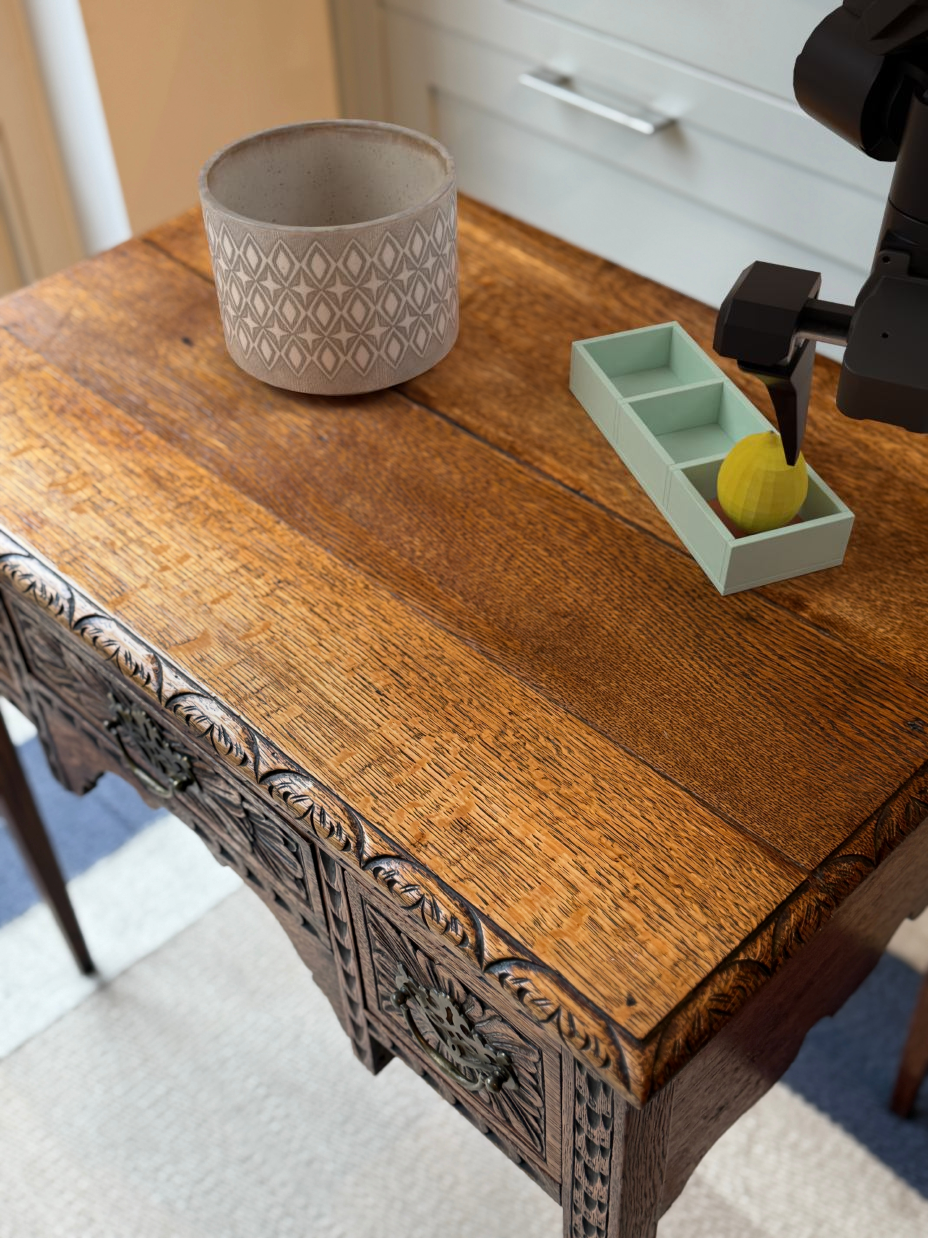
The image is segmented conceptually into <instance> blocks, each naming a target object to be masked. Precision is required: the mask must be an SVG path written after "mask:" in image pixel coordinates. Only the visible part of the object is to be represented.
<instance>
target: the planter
mask: <svg viewBox="0 0 928 1238" xmlns="http://www.w3.org/2000/svg"><path fill="white" fill-rule="evenodd" d="M457 184H458V183H457V164H456V160H455V159H454V157H453V155H452V154H451V152H450V151H449V150H448V149H447V148H446V146H444V145H443V144H442V143H441V142H439V141H438V140H436V139H435V138H433V137H431V136H430V135H427V134H426V133H424V132H420V131H418V130H415V129H413V128H410V127H407V126H402V125H400V124H399V125H398V124H395V123H389V122H384V121H378V120H368V119H359V118H358V119H356V118H326V119H325V118H323V119H322V118H321V119H312V120H303V121H302V120H301V121H295V122H290V123H285V124H281V125H276V126H271V127H267V128H265V129H261V130H258V131H256V132H255V131H254V132H251V133H249V134H247V135H244V136H241V137H239V138H237V139H235V140H233V141H232V142H229V143H228V144H225V145H224V146H223V147H222V148H220V149H218V150H217V151H215V153H213V154H212V155H211V156H210V157H209V158H208V159H207V160H206V161H205V162H204V164H203V166H202V167H201V169H200V170H199V175H198V177H197V186H198V187H197V189H198V194H199V200H200V205H201V211H202V217H203V222H204V228H205V233H206V239H207V245H208V251H209V256H210V263H211V268H212V273H213V279H214V284H215V290H216V296H217V301H218V305H219V306H218V307H219V312H220V317H221V325H222V329H223V335H224V340H225V346H226V348H227V351H228V354H229V355H230V357H231V359H233V361H234V362H235V363H236V365H237V366H238V367H239V368H241V369H242V370H243V371H244V372H245V373H246V374H248V375H250V376H251V377H253V378H255V379H257V380H258V381H261V382H263V383H266V384H267V385H270V386H273V387H277V388H280V389H283V390H287V391H292V392H298V393H303V394H309V395H314V396H315V395H316V396H326V397H327V396H328V397H329V396H330V397H343V396H344V397H346V396H347V397H349V396H356V395H363V394H369V393H373V392H378V391H381V390H385V389H387V388H391V387H393V386H396V385H399V384H402V383H405V382H407V381H410V380H411V379H413V378H416V377H419V376H421V375H422V374H424V373H425V372H427V371H429V370H430V369H432V368H433V367H435V366H436V365H437V364H438V363H440V362H441V361H442V360H444V358H445V357H446V356H447V355H448V354H449V352H451V350H452V348H453V347H454V345H455V343H456V342H457V340H458V335H459V331H460V305H459V303H460V302H459V299H460V297H459V296H460V295H459V247H458V245H459V240H458V195H457V194H458V191H457V190H458V187H457V186H458V185H457Z"/></svg>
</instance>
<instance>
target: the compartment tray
mask: <svg viewBox="0 0 928 1238" xmlns="http://www.w3.org/2000/svg"><path fill="white" fill-rule="evenodd" d="M570 351H571V352H570V369H569V387H568V389H569V390H570V392H571V393H572V395H573V396H574V397H575V398H576V400H577V401H578V402H579V404H580V405H581V407H582V408H583V409H584V411H585V412H586V414H587V415H588V416H589V418H590V419H591V420H592V421H593V423H594V424H595V426H596V427H597V429H598V430H599V431H600V432H601V434H602V435H603V436H604V438H605V439H606V440H607V442H608V443H609V445H610V446H611V447H612V449H613V450H614V451H615V453H616V454H617V455H618V457H619V458H620V460H621V461H622V462H623V464H624V465H625V466H626V467H627V469H628V470H629V472H630V473H631V474H632V475H633V478H634V479H635V480H636V481H637V482H638V484H639V485H640V486H641V488H642V489H643V491H644V492H645V493H646V495H647V496H648V497H649V499H650V500H651V502H652V503H653V504H654V505H655V507H656V508H657V509H658V511H659V512H660V514H661V515H662V516H663V518H664V519H665V520H666V522H667V523H668V525H669V526H670V527H671V529H672V530H673V531H674V533H675V534H676V536H677V537H678V538H679V540H680V541H681V543H683V545H684V547H686V549H687V550H688V552H689V553H690V554H691V555H692V557H693V559H694V560H695V561H696V563H697V564H698V565H699V566H700V568H701V569H702V571H703V572H704V573H705V575H706V576H707V577H708V579H709V580H710V581H711V583H712V584H713V585H714V587H715V588H716V589H717V591H718V592H719V594H720V595H721V596H722V597H724V596H728V595H732V594H735V593H736V594H737V593H740V592H743V591H748V590H751V589H755V588H759V587H763V586H766V585H769V584H774V583H777V582H782V581H784V580H785V581H786V580H788V579H793V578H796V577H799V576H804V575H808V574H812V573H814V572H818V571H822V570H826V569H830V568H834V567H838V566H841V565H842V564H843V561H844V557H845V555H846V554H845V553H846V550H847V546H848V543H849V541H850V536H851V533H852V529H853V526H854V522H855V518H856V515H855V514H854V512H852V510H851V509H850V508H849V507H848V506H847V505H846V504H845V503H844V502H843V501H842V500H841V498H840V497H839V496H838V495H837V493H835V492H834V491H833V490H832V489H831V487H830V486H828V484H827V483H826V482H825V481H824V480H823V478H821V477H820V476H819V474H818V473H817V472H816V471H815V470H814V469H813V467H811V465H809V464H808V463H807V461H805V463H806V468H807V476H808V489H807V495H806V498H805V500H804V502H803V504H802V506H801V508H800V509H799V511H798V512H797V514H796V515H795V516H794V518H793V519H792V520H790V521H789V522H788V523H787V524H785V525H784V526H782V527H781V528H779V529H775V530H771V531H768V532H764V533H755V534H747V533H744V532H743V531H741V530H740V529H739V527H738V526H736V525H735V524H734V523H732V522H731V521H730V519H729V518H728V517H727V516H726V514H725V512H724V510H723V509H722V507H721V505H720V502H719V499H718V492H717V481H718V474H719V471H720V468H721V465H722V463H723V461H724V460H725V458H726V456H727V455H728V454H729V452H730V451H731V450H732V448H733V447H734V446H735V445H736V444H737V443H738V442H739V441H741V440H742V439H743V438H745V437H747V436H748V435H752V434H756V433H765V432H766V431H769V430H773V431H774V432H776V434H777V435H780V431H779V430H777V429H776V428H775V427H774V426H773V425H772V423H771V422H770V421H769V420H768V419H767V418H766V417H765V416H764V415H763V413H761V412H760V410H759V409H758V408H757V407H756V406H755V405H754V404H753V403H752V402H751V400H750V399H749V398H747V396H746V395H745V393H743V392H742V391H741V389H739V387H737V385H736V384H735V383H734V382H733V381H732V380H731V379H730V378H729V377H728V376H727V374H726V373H725V372H724V371H723V370H722V369H721V368H720V367H719V366H718V365H717V364H716V362H714V361H713V359H712V358H711V357H710V356H709V355H708V354H707V353H706V352H705V351H704V350H703V348H702V347H701V346H700V345H699V344H698V343H697V341H695V340H694V338H692V336H690V334H688V331H686V330H685V329H684V327H682V326H681V325H680V323H679V322H678V321H677V320H673V321H668V322H664V323H658V324H654V325H648V326H644V327H640V328H633V329H629V330H624V331H620V332H619V331H618V332H614V333H610V334H605V335H599V336H595V337H590V338H586V339H581V340H575V341H571V350H570Z"/></svg>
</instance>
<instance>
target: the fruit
mask: <svg viewBox="0 0 928 1238" xmlns="http://www.w3.org/2000/svg"><path fill="white" fill-rule="evenodd" d="M805 462H806V460H805V456H804V454H803V452H802V449H801V450H800V454H799V457H798V460H797V462H796V464H795V466H794V467H793V466H788V465H787V463H786V458H785V454H784V449H783V445H782V440H781V436H780V435H777V434H776V432H774V431H773V430H769V431H766V432H765V433H756V434H752V435H748V436H747V437H745V438H743V439H742V440H741V441H739V442H738V443H737V444H736V445H735V446H734V447H733V448H732V450H731V451H730V452H729V454H728V455H727V456H726V458H725V460H724V461H723V463H722V465H721V468H720V471H719V474H718V481H717V492H718V499H719V502H720V505H721V507H722V509H723V510H724V512H725V514H726V516H727V517H728V518H729V519H730V521H731V522H732V523H734V524H735V525H736V526H738V527H739V529H740V530H741V531H743V532H744V533H747V534H755V533H764V532H768V531H771V530H775V529H779V528H781V527H782V526H784V525H785V524H787V523H788V522H789V521H790V520H792V519H793V518H794V516H795V515H796V514H797V512H798V511H799V509H800V508H801V506H802V504H803V502H804V500H805V498H806V495H807V489H808V476H807V468H806V463H807V462H806V463H805Z"/></svg>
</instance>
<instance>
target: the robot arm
mask: <svg viewBox="0 0 928 1238" xmlns="http://www.w3.org/2000/svg"><path fill="white" fill-rule="evenodd" d="M792 71H793V72H792V74H793V75H792V76H793V77H792V87H793V92H794V97H795V100H796V101H797V104H798V105H799V107H800V109H801V110H802V111H803V112H804V113H805V114H806V115H807V116H808V117H810V118H811V119H813V120H814V121H816V122H817V123H819V124H820V125H822V126H823V127H825V128H826V129H827V130H829V131H830V132H832V133H834V134H835V135H836V136H838V137H839V138H841V139H842V140H844V141H845V142H846V143H848V144H850V145H851V146H852V147H854V148H855V149H857V150H858V151H859V152H861V153H863V154H864V155H865V156H867V157H869V158H871V159H873V160H875V161H878V162H883V163H895V166H894V170H893V173H892V178H891V183H890V188H889V191H888V195H887V199H886V203H885V208H884V212H883V216H882V219H881V224H880V229H879V233H878V238H877V242H876V246H875V250H874V255H873V259H872V263H871V267H870V272H869V275H868V277H867V279H866V280H865V282H864V283H863V285H862V286H861V288H860V290H859V291H858V293H857V296H856V297H855V301H854V305H849V304H845V303H839V302H835V301H829V300H824V299H819V297H820V292H821V286H822V282H823V280H822V272H821V271H815V270H810V269H805V268H799V267H794V266H788V265H784V264H783V265H782V264H779V263H778V264H777V263H772V262H767V261H763V260H762V261H761V260H755V261H753V262H752V263H750V264H749V265H748V266H746V267H745V268H743V270H742V271H741V272H740V274H739V276H737V279H736V280H735V282H734V283H733V285H732V286H731V288H730V290H729V292H727V294H726V296H725V298H724V299H723V301H722V302H721V304H720V307H719V310H718V314H717V317H716V320H715V326H714V334H713V342H712V350H713V351H714V352H715V353H716V354H717V355H718V356H719V357H723V358H727V359H732V360H736V365H737V368H738V370H739V371H740V372H742V373H745V374H749V375H752V376H754V377H755V378H757V379H758V380H759V381H760V382H761V383H762V384H763V385H764V386H765V387H766V390H767V392H768V395H769V397H770V401H771V403H772V406H773V409H774V413H775V417H776V421H777V427H778V432H779V433H780V436H781V440H782V445H783V449H784V454H785V458H786V463H787V465H788V466H793V467H794V466H795V464H796V462H797V460H798V457H799V454H800V450H801V451H802V445H803V442H804V438H805V434H806V431H807V430H806V429H807V421H808V414H809V406H810V398H811V389H812V381H813V375H814V374H813V373H814V366H815V365H814V364H815V357H816V349H817V343H818V342H819V343H824V344H828V345H834V346H838V347H843V348H845V350H844V352H843V356H842V361H841V366H840V373H839V380H838V386H837V392H836V397H835V407H836V408H837V411H838V412H840V414H842V415H843V416H844V417H847V418H849V419H853V420H856V421H865V420H869V421H873V422H878V423H883V424H886V425H891V426H895V427H900V428H903V429H904V430H905V431H906V432H909V433H913V434H919V435H927V434H928V0H842V4H841V5H839V6H837V7H836V8H835V9H834V10H832V11H831V12H830V13H828V14H827V15H826V16H824V18H823V19H821V20H820V22H819V23H818V24H817V25H816V26H815V27H814V29H813V30H812V31H811V33H810V34H809V36H808V37H807V39H806V41H804V44H803V47H802V49H801V52H800V53H799V54H798V55H797V56H796V58H795V62H794V66H793V70H792Z"/></svg>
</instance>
